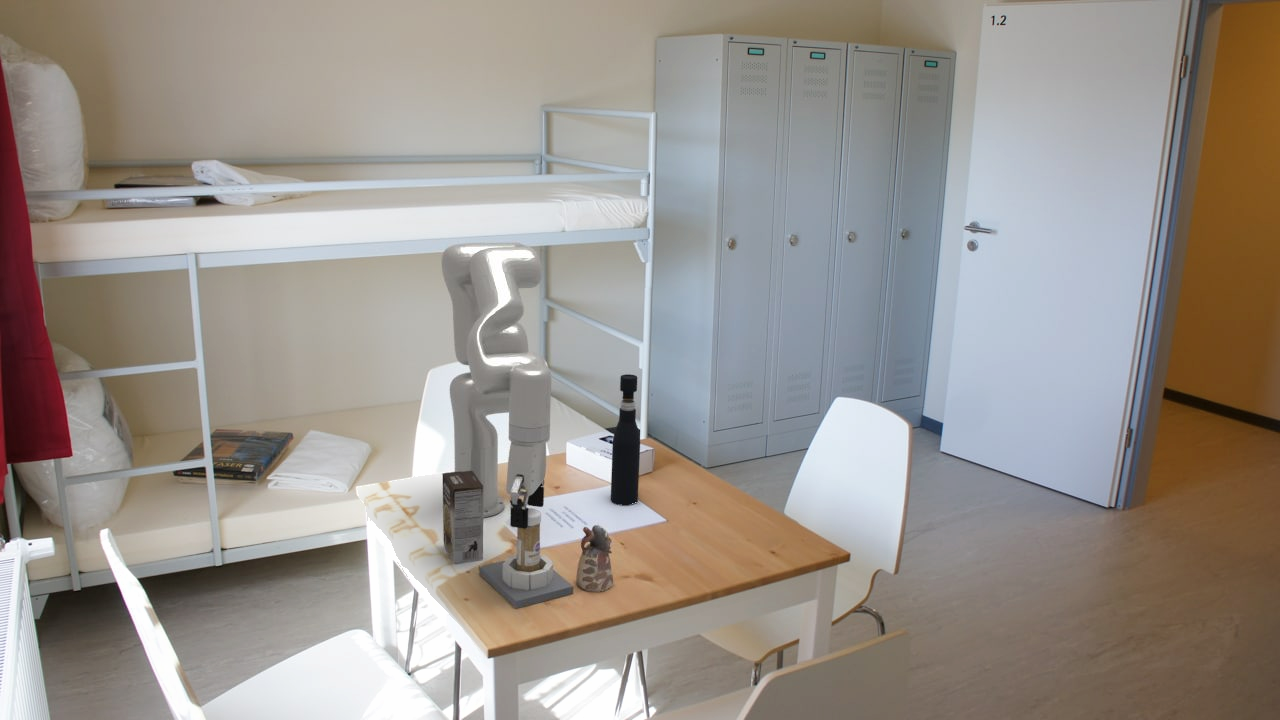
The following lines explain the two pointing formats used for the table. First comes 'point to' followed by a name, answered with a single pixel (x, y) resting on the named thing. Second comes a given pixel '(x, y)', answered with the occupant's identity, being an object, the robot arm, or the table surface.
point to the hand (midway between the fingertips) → (527, 516)
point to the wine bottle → (626, 447)
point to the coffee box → (463, 516)
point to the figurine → (595, 561)
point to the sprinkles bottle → (529, 543)
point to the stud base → (524, 594)
